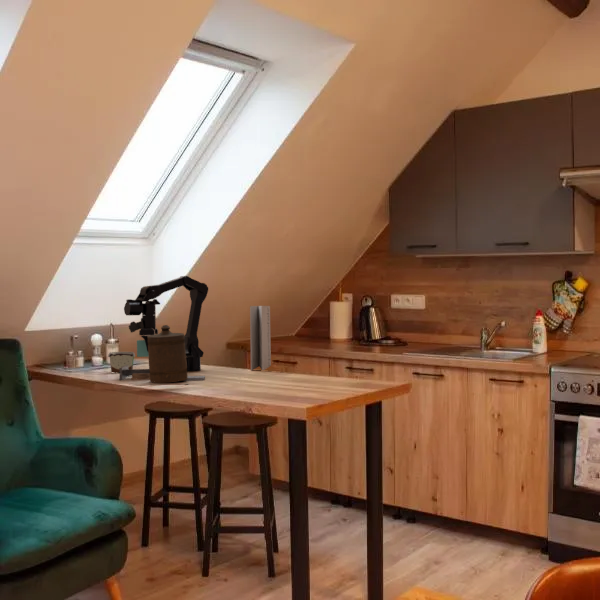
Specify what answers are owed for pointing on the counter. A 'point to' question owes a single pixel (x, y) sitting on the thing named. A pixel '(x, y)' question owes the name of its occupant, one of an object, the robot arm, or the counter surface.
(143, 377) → the board
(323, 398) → the counter surface
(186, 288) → the robot arm
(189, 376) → the mat
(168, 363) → the wooden container
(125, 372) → the rack
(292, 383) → the counter surface
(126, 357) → the food container
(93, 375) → the counter surface
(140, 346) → the block
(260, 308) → the grey tall angular piece
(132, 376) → the offcut top
